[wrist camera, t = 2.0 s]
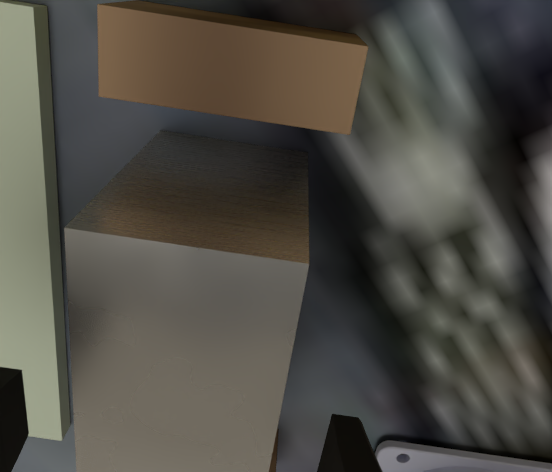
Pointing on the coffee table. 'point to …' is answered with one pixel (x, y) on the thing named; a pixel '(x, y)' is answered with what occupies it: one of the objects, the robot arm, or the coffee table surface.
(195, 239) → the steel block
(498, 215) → the coffee table surface
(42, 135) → the sage board
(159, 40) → the cardboard parcel
